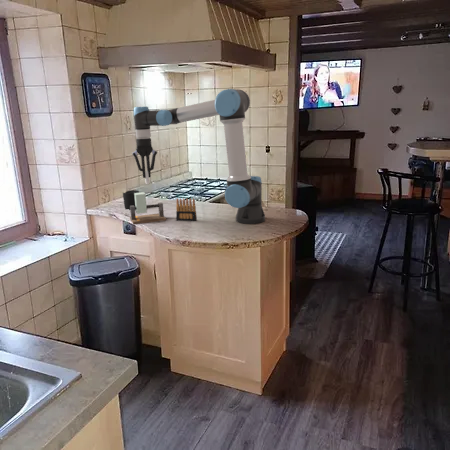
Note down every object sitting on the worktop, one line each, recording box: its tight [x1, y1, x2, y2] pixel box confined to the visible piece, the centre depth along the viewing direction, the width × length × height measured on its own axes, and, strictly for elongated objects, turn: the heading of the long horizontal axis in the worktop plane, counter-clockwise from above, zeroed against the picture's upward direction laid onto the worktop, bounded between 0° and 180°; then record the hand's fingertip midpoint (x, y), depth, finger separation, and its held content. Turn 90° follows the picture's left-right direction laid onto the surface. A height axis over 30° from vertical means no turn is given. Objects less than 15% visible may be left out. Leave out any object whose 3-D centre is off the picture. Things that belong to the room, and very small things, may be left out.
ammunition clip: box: [175, 197, 198, 222], centre depth 225 cm, size 11×2×12 cm, turn 77°
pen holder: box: [122, 189, 140, 211], centre depth 256 cm, size 9×9×10 cm
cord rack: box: [129, 202, 167, 225], centre depth 229 cm, size 12×17×8 cm
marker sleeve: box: [134, 191, 148, 214], centre depth 227 cm, size 5×5×10 cm
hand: (147, 183), depth 225 cm, fingers closed
